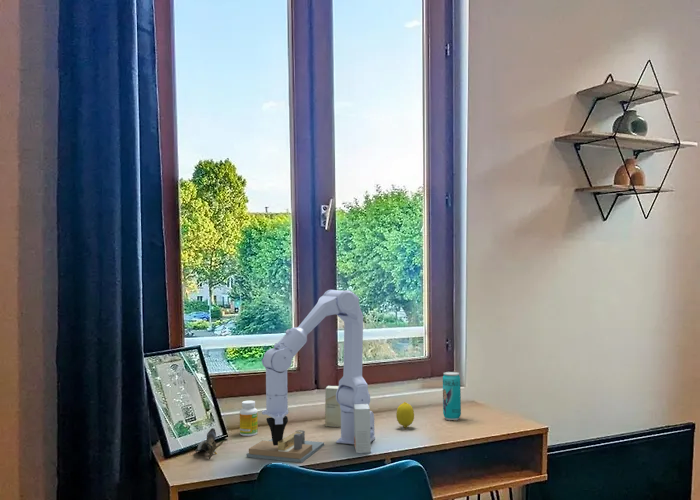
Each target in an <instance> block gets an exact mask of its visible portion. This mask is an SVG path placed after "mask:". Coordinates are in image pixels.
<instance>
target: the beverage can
mask: <svg viewBox="0 0 700 500" xmlns="http://www.w3.org/2000/svg"><path fill="white" fill-rule="evenodd" d="M461 390H462V389H461V377H460V372H456V371H446V372H445V371H444V372H443V376H442V414H443V417H444V419H445V420H447V421H450V420H456V421H460V419H461V415H462V402H461V401H462V399H461V397H462V395H461V393H462V392H461Z"/></svg>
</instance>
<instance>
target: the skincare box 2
mask: <svg viewBox="0 0 700 500" xmlns="http://www.w3.org/2000/svg"><path fill="white" fill-rule="evenodd" d="M370 409H371V408H370V404H369V405H368V404H354V444H353V445H354V449H355V453H356V454H368V453H371V452H372V451H371V450H372V448H371V447H372V446H371V443H372V442H371V441H370V411H371V410H370Z"/></svg>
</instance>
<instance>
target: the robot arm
mask: <svg viewBox="0 0 700 500" xmlns="http://www.w3.org/2000/svg"><path fill="white" fill-rule="evenodd" d="M333 315H336V316H337V317H338V318H339V319H341V320H342V321H343V326H344V327H343V328H344V329H343V372H342V373H343V376H342V377H341V378H340V379H339V380H338V386H339V387H338V390H337V392H336V400H337V402H338V403H339V404H340V408H341V427H340V437H339V438H338V439H336V441H335V442H336V444H346V445H347V444H348V445H355V444H354V404H368V405H369V406H370V403H371V396H370V395H371V394H370V393H369V385H368V383H367V382H366V379H365V378H364V377H363V347H364V346H363V344H364V342H363V341H364V339H363V338H364V336H363V335H364V315H363V312H362V309H361V306H360V298H359V297H358V295H357V294H356V293H354V292H353V291H351V290H348V289H347V290H341V289H340V290H339V289H337V290H336V289H328V290H326V291H324V293H323V294H322V296H320V297H319V298H318V301H317V303H316V304H315V305H314V307H313V308H312V309H311V310H310V311H309V313H308V314H307V316H305V318H304V319H303V320H302V321H301V323H300V324H299V325H298V326H297V327H291V328H287V330H285V332H284V335H283V337H282V338H281V339H280V340H279V341H278V342H276V343H274V345H273V348H270V349H268V350H266V351H265V353H264V354H263V358H262V359H261V364H262V366H263V367H264V368H265V396H266V397H265V399H266V400H265V409H264V410H262V411H261V414H262V415H266V416H268V417H266V424H268V427H269V430H270V433H271V435H270V436H271V439H272V441H273V445H274V446H275V445H278V441H280V440H282V439H284V433H285V430H286V426H287V424H288V421H289V419H288V416H287V415H288V414H289V408H288V407H289V406H288V403H289V401H288V400H289V399H288V369H290V368H291V365H292V363H293V358H294V357H295V356H296V355H297V354H298V352H299V351H300V350H301V349H302V347H304V345H306V343H307V342H308V335H309V334H310V333H311V332H312V331H313V330H314V329H315V328H316V327H317V326H318V325H319V324H320V323H321V322H322V321H323V320H324V319H325V318H326V317H329V316H333ZM375 439H376V436H375V415H374V412H373V411H372V410H370V441H371V443H372V442H373V441H374V440H375Z"/></svg>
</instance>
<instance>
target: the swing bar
mask: <svg viewBox="0 0 700 500" xmlns="http://www.w3.org/2000/svg"><path fill="white" fill-rule="evenodd" d="M296 433H299V434H302V444H305V441H306V440H305V439H306V433H305V430H304V429H303V430H301V429H300V430H295V431H294V432H293V433H291V434H289V435H287V436H286V437H283V439H282V440H280V441H278V450H286V449H288V448H289V447H291V446H293V445H294V435H295V434H296Z"/></svg>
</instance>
